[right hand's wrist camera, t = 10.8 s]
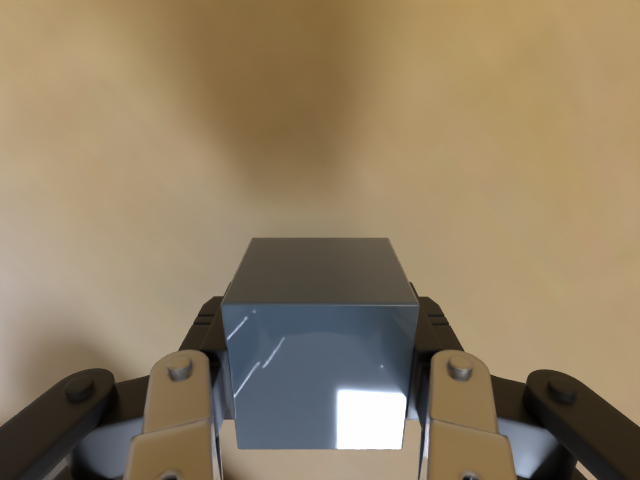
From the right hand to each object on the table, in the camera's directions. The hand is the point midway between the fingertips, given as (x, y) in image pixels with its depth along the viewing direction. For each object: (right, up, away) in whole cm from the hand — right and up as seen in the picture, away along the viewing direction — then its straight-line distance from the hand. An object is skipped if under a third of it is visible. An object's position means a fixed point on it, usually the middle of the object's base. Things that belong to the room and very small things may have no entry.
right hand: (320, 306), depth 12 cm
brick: (0, 0, +1) cm, 1 cm away
